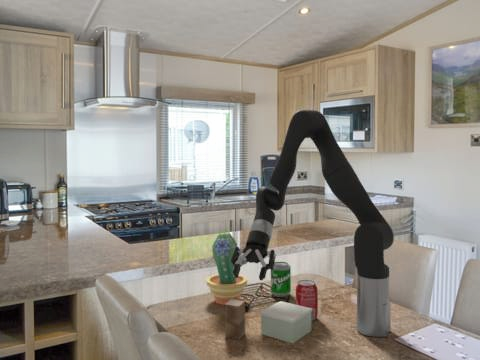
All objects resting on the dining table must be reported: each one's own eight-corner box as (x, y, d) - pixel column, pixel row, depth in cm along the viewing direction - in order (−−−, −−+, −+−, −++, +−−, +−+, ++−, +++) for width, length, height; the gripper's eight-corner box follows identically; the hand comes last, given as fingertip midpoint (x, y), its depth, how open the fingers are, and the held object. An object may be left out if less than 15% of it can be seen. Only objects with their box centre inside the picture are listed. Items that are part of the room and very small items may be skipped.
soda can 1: (271, 290, 168) (271, 260, 168) (290, 291, 167) (290, 261, 167) (270, 297, 161) (270, 265, 160) (290, 298, 160) (290, 266, 159)
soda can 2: (304, 312, 145) (304, 277, 144) (322, 318, 140) (322, 282, 139) (291, 318, 140) (291, 282, 140) (309, 324, 135) (309, 287, 135)
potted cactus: (197, 301, 157) (196, 234, 156) (225, 290, 169) (224, 228, 167) (228, 311, 147) (227, 239, 146) (256, 299, 159) (255, 232, 157)
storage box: (312, 330, 131) (312, 308, 130) (293, 344, 122) (293, 320, 121) (280, 322, 138) (280, 301, 137) (260, 334, 129) (260, 311, 128)
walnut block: (245, 333, 129) (244, 301, 128) (239, 339, 125) (239, 306, 124) (231, 331, 131) (230, 299, 130) (225, 337, 126) (224, 304, 126)
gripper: (237, 228, 147) (224, 269, 137) (277, 230, 142) (266, 274, 132) (243, 240, 152) (230, 281, 142) (282, 243, 147) (271, 286, 137)
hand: (248, 277), depth 137 cm, fingers open, 8 cm apart
